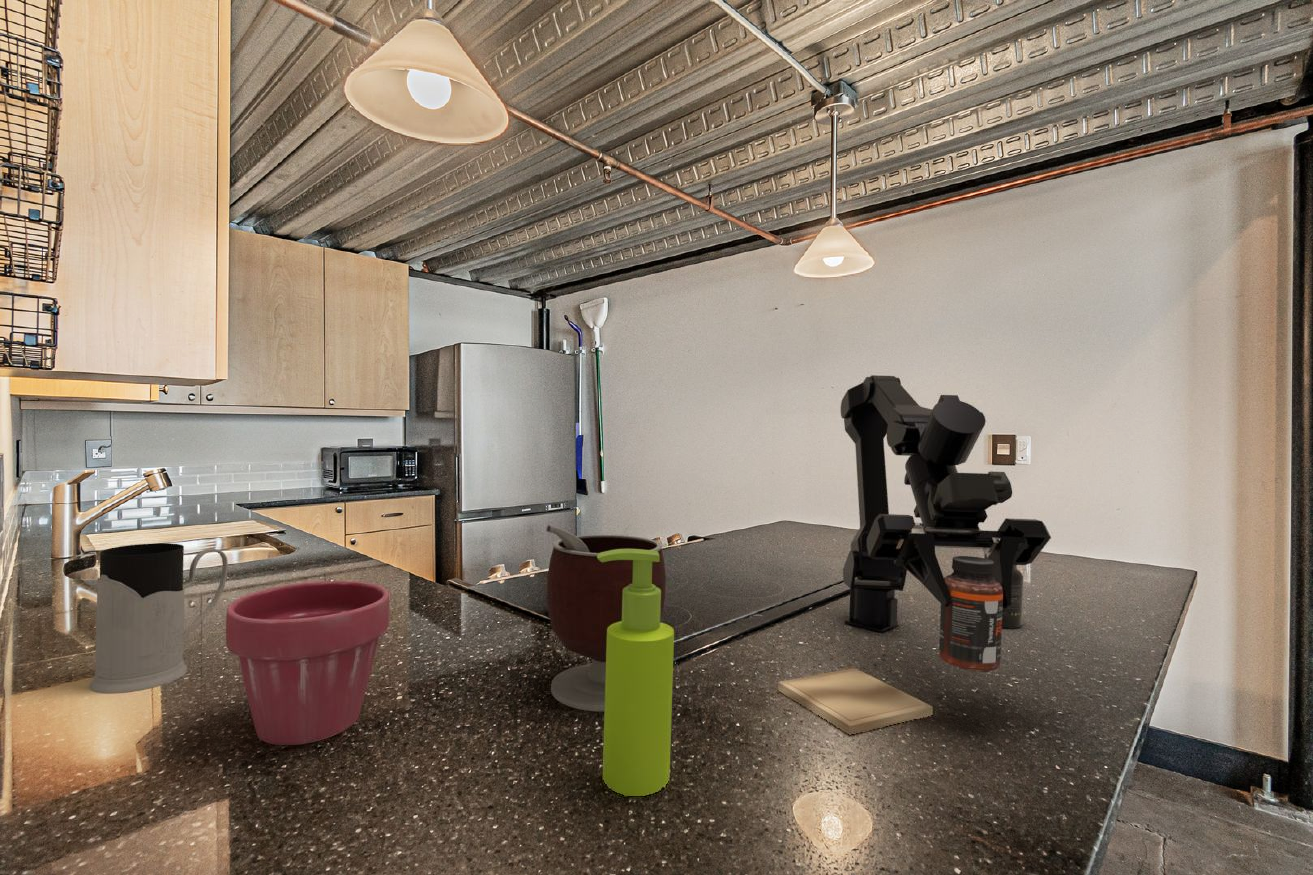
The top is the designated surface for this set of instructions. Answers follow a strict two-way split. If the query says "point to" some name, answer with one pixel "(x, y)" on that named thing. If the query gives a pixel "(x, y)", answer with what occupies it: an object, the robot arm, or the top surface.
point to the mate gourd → (590, 606)
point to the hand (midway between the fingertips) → (977, 606)
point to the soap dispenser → (638, 685)
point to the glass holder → (143, 616)
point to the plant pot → (306, 655)
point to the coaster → (854, 700)
